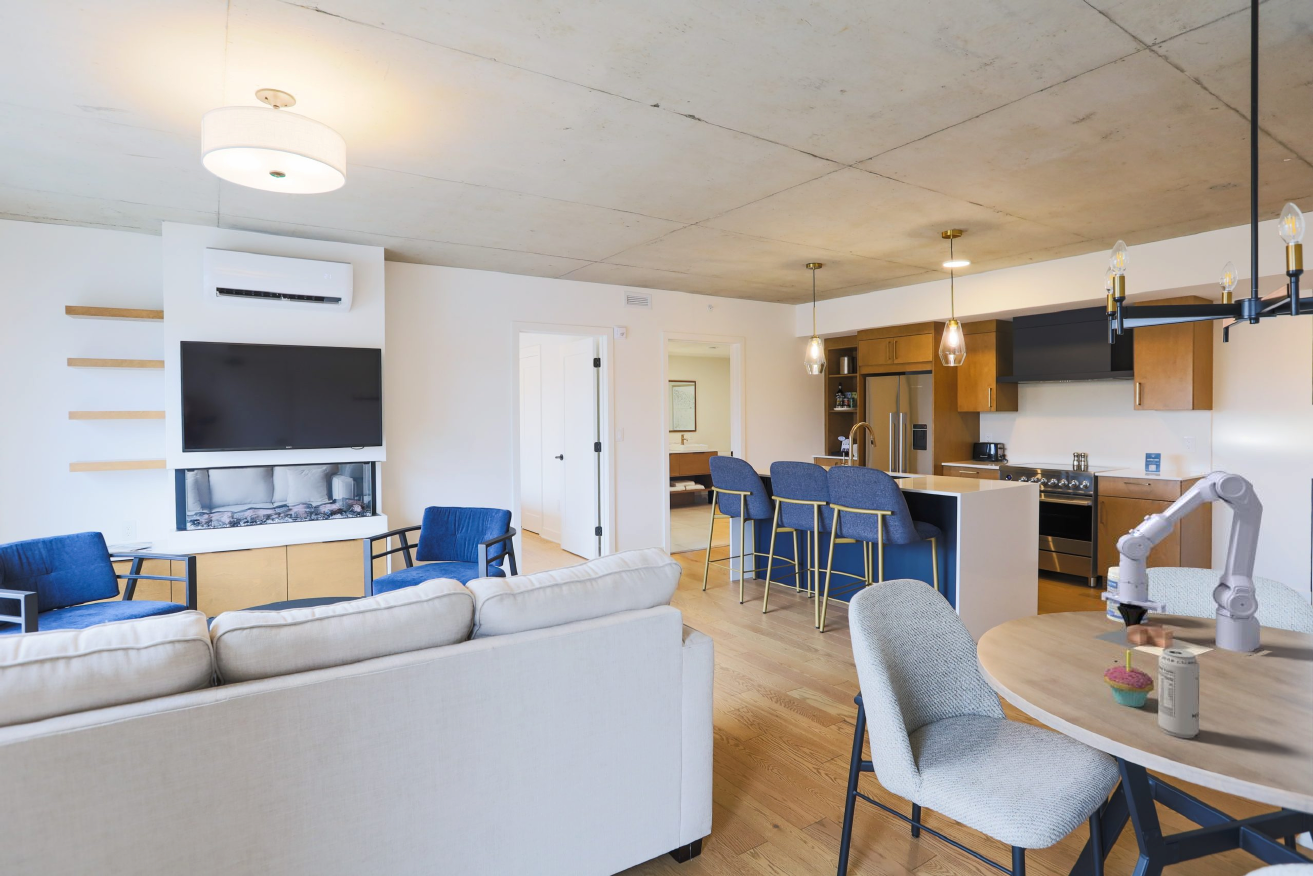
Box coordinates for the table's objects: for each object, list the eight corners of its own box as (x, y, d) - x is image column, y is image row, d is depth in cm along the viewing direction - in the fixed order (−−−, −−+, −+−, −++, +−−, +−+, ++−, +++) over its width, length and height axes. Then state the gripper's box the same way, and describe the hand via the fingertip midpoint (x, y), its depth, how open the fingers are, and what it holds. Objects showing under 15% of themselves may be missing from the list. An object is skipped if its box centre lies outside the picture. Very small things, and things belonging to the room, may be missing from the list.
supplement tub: (1101, 621, 195) (1101, 569, 194) (1114, 614, 201) (1114, 564, 200) (1141, 629, 187) (1141, 575, 187) (1153, 622, 193) (1153, 570, 192)
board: (1127, 630, 186) (1127, 627, 186) (1214, 652, 168) (1214, 649, 168) (1091, 639, 179) (1091, 636, 179) (1178, 664, 161) (1178, 660, 161)
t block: (1126, 642, 174) (1127, 627, 174) (1149, 636, 179) (1149, 621, 178) (1157, 650, 168) (1157, 634, 168) (1179, 644, 172) (1179, 628, 172)
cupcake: (1155, 714, 135) (1156, 654, 135) (1104, 705, 140) (1104, 647, 139) (1152, 698, 142) (1152, 641, 142) (1103, 690, 147) (1103, 635, 146)
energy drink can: (1203, 742, 124) (1204, 660, 123) (1163, 736, 126) (1163, 655, 126) (1193, 728, 129) (1193, 649, 129) (1154, 722, 132) (1154, 645, 131)
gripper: (1094, 577, 182) (1094, 628, 182) (1154, 589, 169) (1154, 644, 169) (1110, 574, 185) (1110, 624, 185) (1170, 586, 172) (1170, 639, 172)
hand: (1132, 633), depth 178 cm, fingers closed
